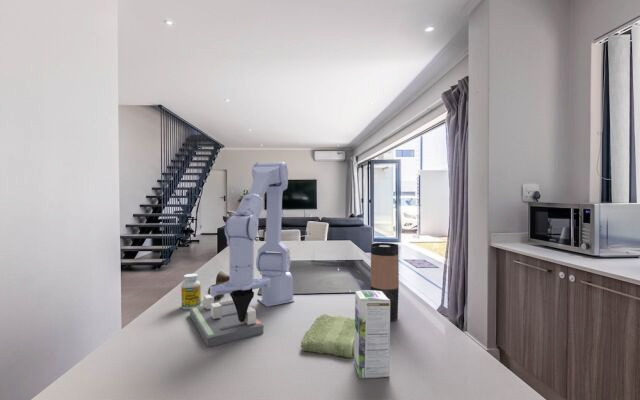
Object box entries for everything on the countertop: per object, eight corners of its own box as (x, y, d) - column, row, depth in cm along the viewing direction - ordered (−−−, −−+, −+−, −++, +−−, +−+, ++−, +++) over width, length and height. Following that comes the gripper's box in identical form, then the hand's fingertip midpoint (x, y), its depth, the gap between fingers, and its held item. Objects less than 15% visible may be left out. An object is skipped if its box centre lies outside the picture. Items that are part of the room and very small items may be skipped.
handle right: (211, 304, 88) (211, 294, 88) (214, 307, 85) (214, 297, 85) (204, 306, 87) (204, 295, 87) (206, 309, 84) (206, 298, 84)
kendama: (200, 301, 100) (225, 282, 119) (228, 302, 99) (249, 283, 119) (200, 282, 99) (225, 267, 119) (229, 284, 98) (249, 268, 118)
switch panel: (235, 306, 93) (235, 299, 93) (263, 333, 74) (263, 324, 74) (189, 315, 86) (189, 307, 86) (207, 347, 67) (207, 337, 67)
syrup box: (353, 362, 61) (353, 290, 61) (382, 361, 62) (382, 289, 62) (359, 379, 55) (359, 299, 55) (391, 377, 56) (391, 298, 56)
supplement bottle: (198, 302, 96) (198, 272, 96) (202, 307, 92) (202, 275, 92) (180, 305, 93) (180, 274, 93) (183, 311, 89) (183, 278, 89)
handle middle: (218, 313, 81) (218, 302, 81) (221, 317, 78) (221, 305, 78) (210, 315, 80) (210, 303, 80) (213, 319, 77) (213, 307, 77)
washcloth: (367, 327, 79) (367, 315, 79) (356, 362, 62) (356, 347, 62) (318, 322, 82) (318, 310, 82) (295, 353, 66) (295, 338, 66)
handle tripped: (251, 318, 77) (251, 307, 77) (255, 322, 75) (255, 310, 75) (243, 320, 76) (243, 308, 76) (247, 324, 74) (247, 312, 74)
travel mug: (400, 314, 87) (401, 243, 87) (395, 324, 80) (395, 247, 80) (374, 309, 90) (374, 242, 90) (367, 319, 83) (367, 245, 83)
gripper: (215, 272, 67) (215, 333, 67) (275, 264, 75) (275, 319, 75) (207, 266, 73) (207, 322, 73) (264, 259, 81) (264, 310, 81)
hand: (241, 320), depth 75 cm, fingers closed
